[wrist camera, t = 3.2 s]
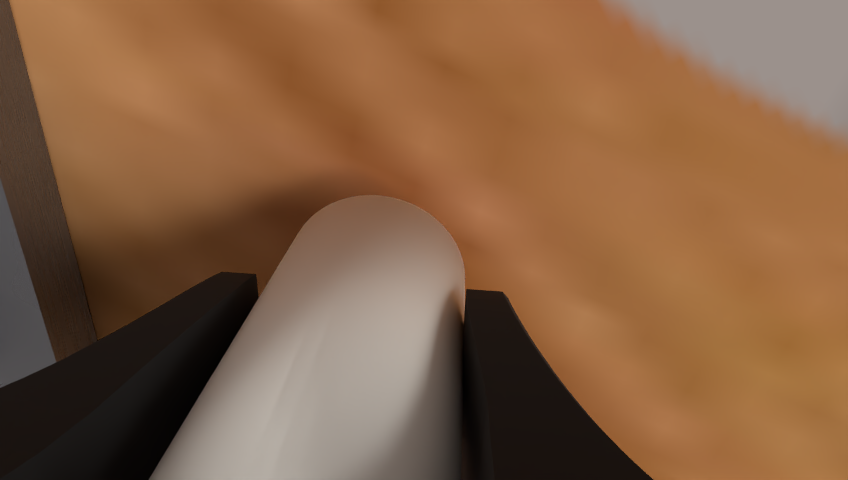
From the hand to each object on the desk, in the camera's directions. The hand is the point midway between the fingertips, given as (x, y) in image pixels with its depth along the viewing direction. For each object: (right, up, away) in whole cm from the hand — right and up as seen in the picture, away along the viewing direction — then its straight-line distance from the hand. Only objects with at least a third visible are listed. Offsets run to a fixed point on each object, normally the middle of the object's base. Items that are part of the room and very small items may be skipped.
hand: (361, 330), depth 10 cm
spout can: (0, +1, +2) cm, 2 cm away
